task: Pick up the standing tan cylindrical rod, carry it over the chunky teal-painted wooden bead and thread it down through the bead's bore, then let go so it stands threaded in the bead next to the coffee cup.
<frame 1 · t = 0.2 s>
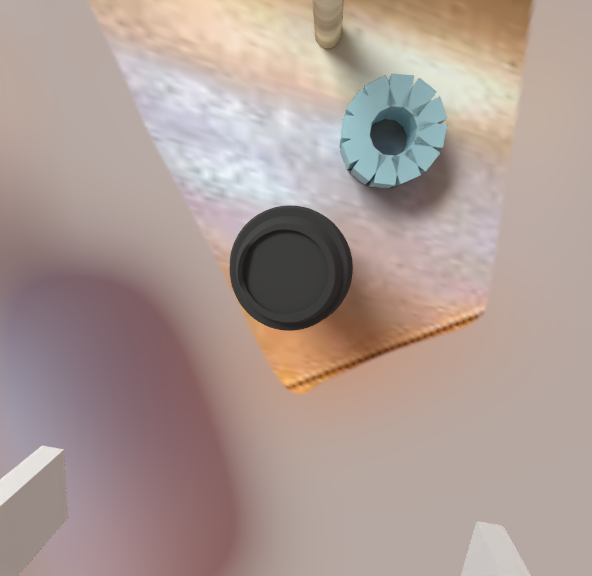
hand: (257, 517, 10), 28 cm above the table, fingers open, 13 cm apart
tan cylindrical rod: (328, 33, 31), on the table
coffee cup: (303, 251, 36), on the table
bead: (385, 141, 33), on the table
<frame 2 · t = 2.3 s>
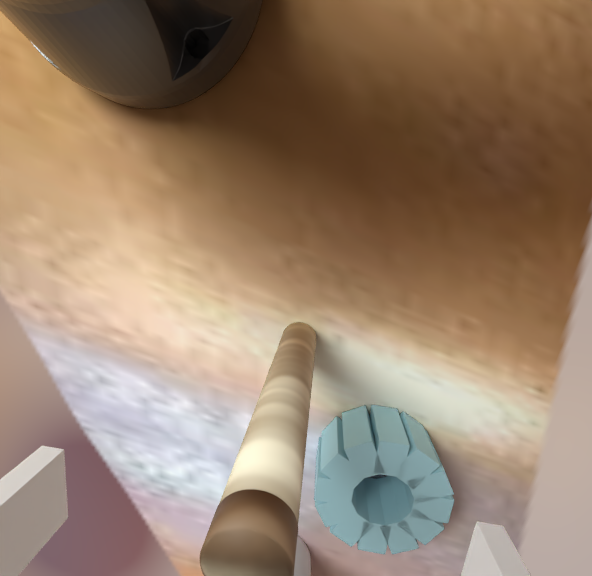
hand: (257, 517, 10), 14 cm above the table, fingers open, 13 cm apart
tan cylindrical rod: (299, 338, 24), on the table
coffee cup: (273, 554, 29), on the table
bead: (374, 456, 26), on the table
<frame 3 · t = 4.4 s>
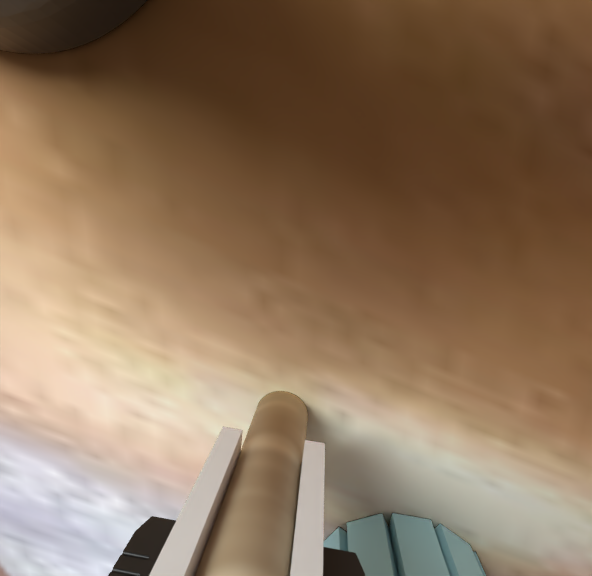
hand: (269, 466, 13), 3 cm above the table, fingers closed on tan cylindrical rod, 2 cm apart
tan cylindrical rod: (282, 414, 16), on the table, touching gripper
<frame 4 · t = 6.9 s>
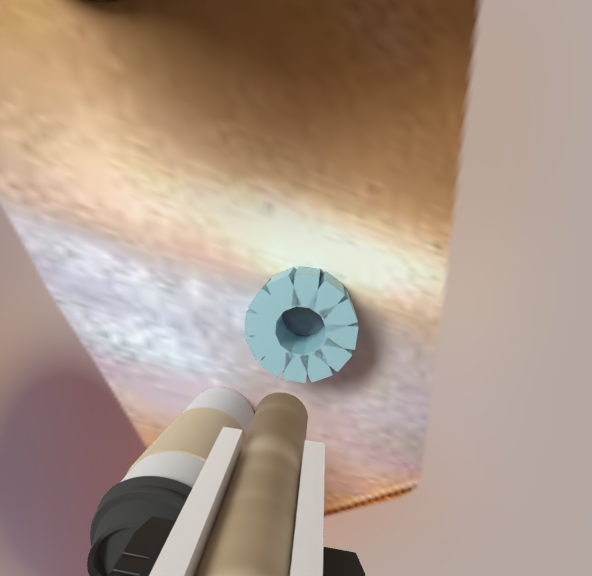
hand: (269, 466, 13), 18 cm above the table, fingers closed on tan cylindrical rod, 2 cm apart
tan cylindrical rod: (281, 416, 16), point 15 cm above the table, touching gripper
coffee cup: (223, 416, 34), on the table
bead: (304, 315, 30), on the table
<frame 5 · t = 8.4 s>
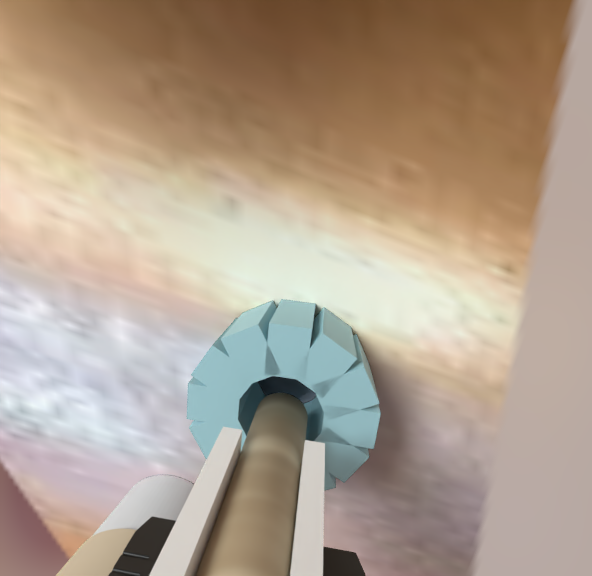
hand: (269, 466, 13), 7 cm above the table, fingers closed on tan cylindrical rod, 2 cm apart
tan cylindrical rod: (281, 416, 16), point 4 cm above the table, touching gripper
coffee cup: (172, 514, 23), on the table
bead: (290, 374, 19), on the table
when the fingers open (5 cm above the table, at t = 9.6 s): tan cylindrical rod drops 1 cm, resting in bead.
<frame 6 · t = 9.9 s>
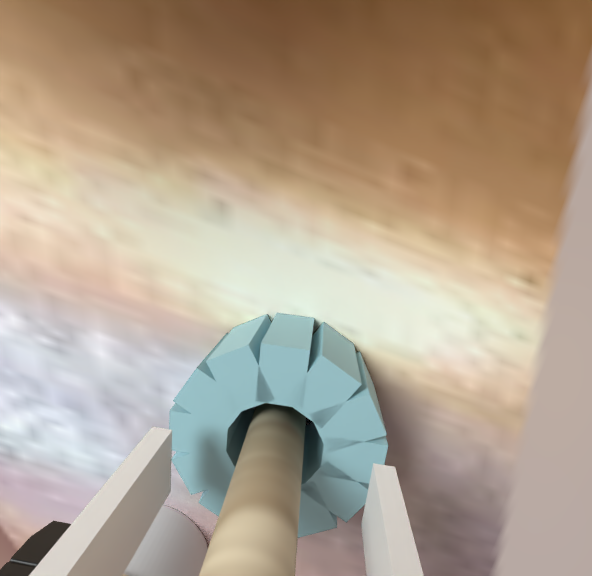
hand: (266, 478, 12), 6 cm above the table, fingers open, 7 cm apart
tan cylindrical rod: (283, 396, 17), resting in bead
coffee cup: (158, 545, 21), on the table
bead: (286, 395, 17), on the table
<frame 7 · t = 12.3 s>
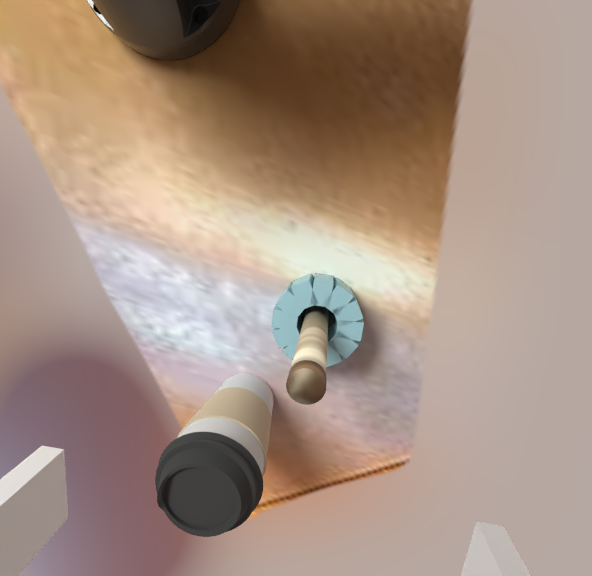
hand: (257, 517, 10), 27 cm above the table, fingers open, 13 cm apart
tan cylindrical rod: (317, 314, 36), resting in bead
coffee cup: (246, 398, 40), on the table
bead: (318, 313, 36), on the table
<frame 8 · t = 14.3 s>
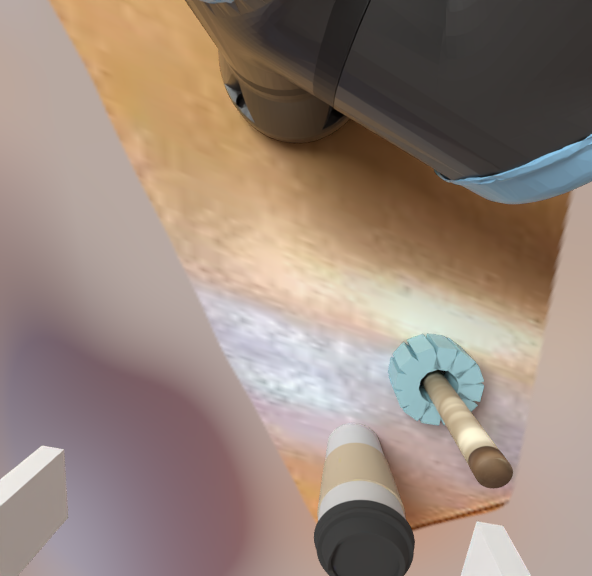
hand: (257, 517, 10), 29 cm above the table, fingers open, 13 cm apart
tan cylindrical rod: (426, 370, 39), resting in bead
coffee cup: (353, 445, 42), on the table
bead: (427, 370, 39), on the table
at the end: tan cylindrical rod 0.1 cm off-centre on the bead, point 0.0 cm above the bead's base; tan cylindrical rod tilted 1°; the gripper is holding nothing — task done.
